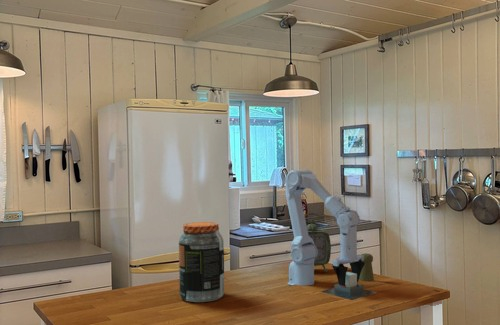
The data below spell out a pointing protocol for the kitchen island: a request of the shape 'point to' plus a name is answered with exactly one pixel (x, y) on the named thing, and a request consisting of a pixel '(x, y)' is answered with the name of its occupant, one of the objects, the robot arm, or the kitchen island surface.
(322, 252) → the tabletop clock
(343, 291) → the stand base
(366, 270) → the green pawn
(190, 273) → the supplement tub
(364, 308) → the kitchen island surface
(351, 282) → the pale grey block
